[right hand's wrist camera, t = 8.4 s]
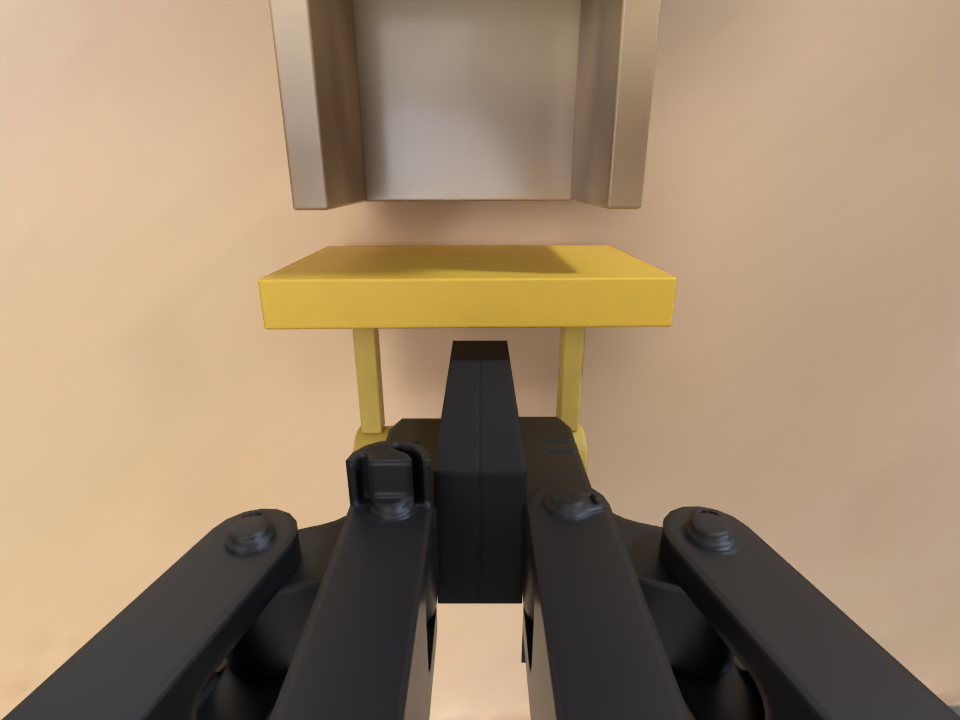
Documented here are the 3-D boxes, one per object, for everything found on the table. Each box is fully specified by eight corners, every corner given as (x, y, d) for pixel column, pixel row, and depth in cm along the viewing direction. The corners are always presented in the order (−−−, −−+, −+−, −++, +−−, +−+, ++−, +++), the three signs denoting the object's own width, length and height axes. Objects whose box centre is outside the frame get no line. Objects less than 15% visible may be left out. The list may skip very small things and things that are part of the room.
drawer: (596, 421, 20) (648, 520, 14) (344, 423, 20) (292, 524, 14) (677, -587, 12) (879, -1333, 6) (242, -596, 12) (15, -1371, 6)
